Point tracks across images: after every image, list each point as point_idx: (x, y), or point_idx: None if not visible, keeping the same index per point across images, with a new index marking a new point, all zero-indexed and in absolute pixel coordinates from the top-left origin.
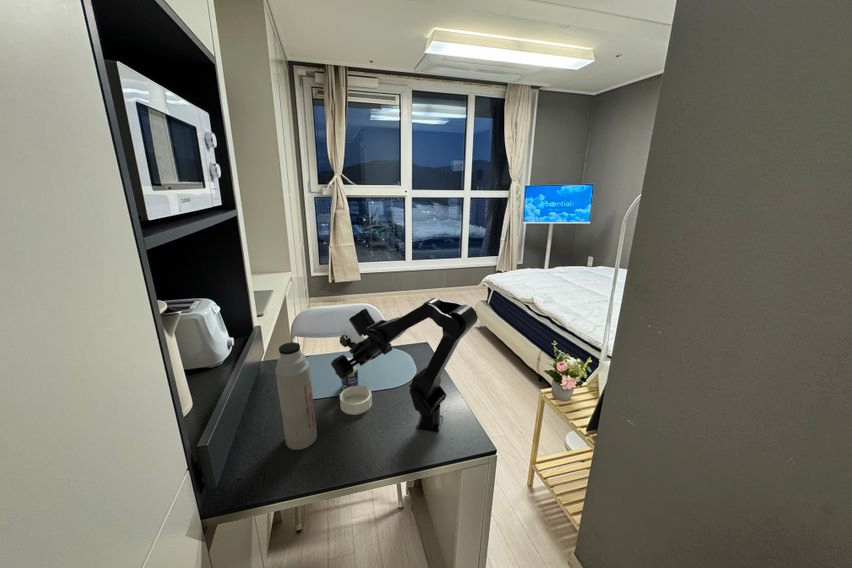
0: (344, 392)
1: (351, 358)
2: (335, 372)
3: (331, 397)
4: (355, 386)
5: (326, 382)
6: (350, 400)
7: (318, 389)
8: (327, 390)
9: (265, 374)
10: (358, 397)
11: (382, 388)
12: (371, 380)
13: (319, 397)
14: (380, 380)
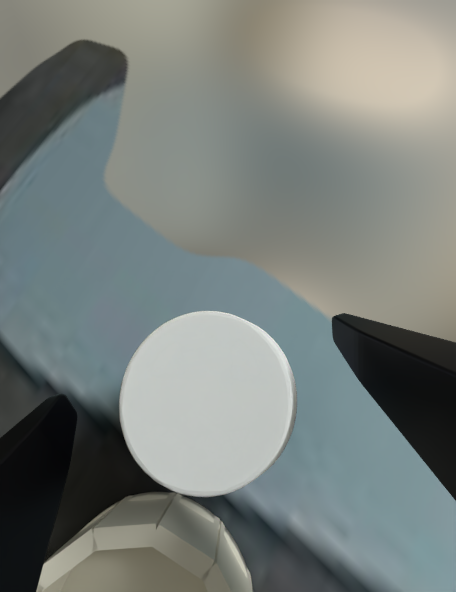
0: (80, 561)
1: (270, 357)
2: (46, 403)
3: (88, 418)
4: (187, 555)
5: (149, 276)
6: (127, 574)
7: (87, 304)
8: (112, 342)
9: (16, 93)
10: (186, 586)
11: (387, 578)
12: (358, 426)
13: (48, 371)
14: (412, 470)
